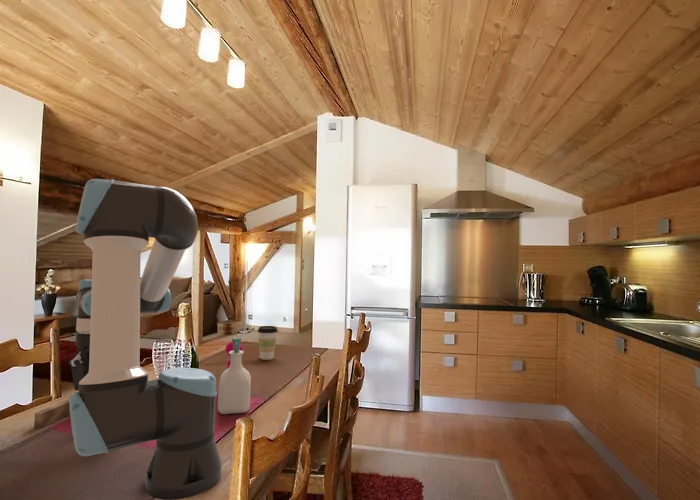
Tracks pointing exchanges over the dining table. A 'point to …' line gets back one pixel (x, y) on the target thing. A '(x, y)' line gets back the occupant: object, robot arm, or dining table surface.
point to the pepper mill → (230, 348)
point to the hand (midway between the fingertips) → (87, 411)
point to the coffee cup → (267, 341)
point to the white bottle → (234, 384)
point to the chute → (51, 414)
